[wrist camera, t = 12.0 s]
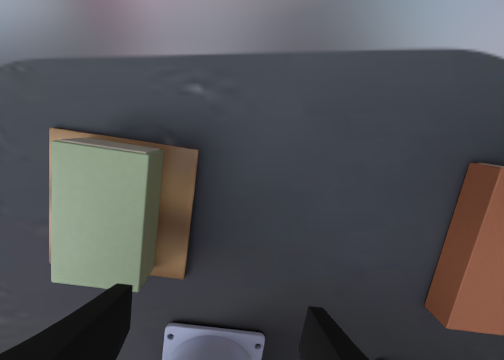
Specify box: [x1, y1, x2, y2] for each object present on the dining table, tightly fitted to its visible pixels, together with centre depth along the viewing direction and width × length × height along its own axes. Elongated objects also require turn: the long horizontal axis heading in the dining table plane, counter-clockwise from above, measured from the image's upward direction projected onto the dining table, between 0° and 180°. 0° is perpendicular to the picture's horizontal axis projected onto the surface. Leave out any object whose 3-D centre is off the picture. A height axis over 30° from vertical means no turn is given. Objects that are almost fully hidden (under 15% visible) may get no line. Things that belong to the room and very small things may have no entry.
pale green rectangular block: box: [51, 137, 164, 292], centre depth 18 cm, size 9×6×3 cm, turn 171°
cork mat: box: [49, 128, 199, 279], centre depth 19 cm, size 10×10×1 cm
